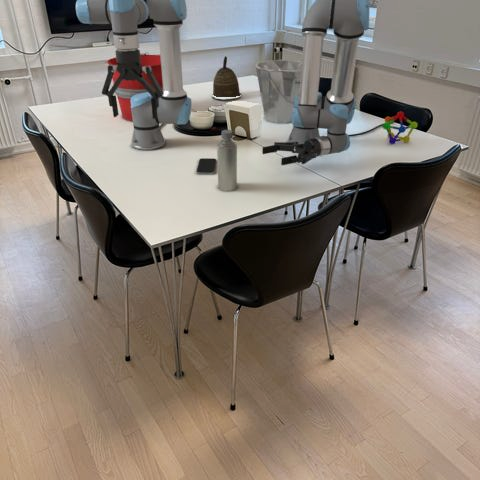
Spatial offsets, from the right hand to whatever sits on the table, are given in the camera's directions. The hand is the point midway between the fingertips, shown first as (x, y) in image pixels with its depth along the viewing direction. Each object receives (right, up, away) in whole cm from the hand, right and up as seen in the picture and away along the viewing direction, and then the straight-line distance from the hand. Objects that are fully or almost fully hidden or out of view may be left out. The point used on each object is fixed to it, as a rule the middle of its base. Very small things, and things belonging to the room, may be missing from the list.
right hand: (272, 156), depth 170 cm
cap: (-17, +6, -14) cm, 23 cm away
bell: (-21, +58, +111) cm, 127 cm away
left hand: (-48, +9, -21) cm, 53 cm away
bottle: (-17, -12, -2) cm, 21 cm away
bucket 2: (+10, +35, +73) cm, 82 cm away
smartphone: (-26, -2, +14) cm, 30 cm away
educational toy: (+62, +14, +40) cm, 75 cm away
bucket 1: (-66, +38, +77) cm, 108 cm away
